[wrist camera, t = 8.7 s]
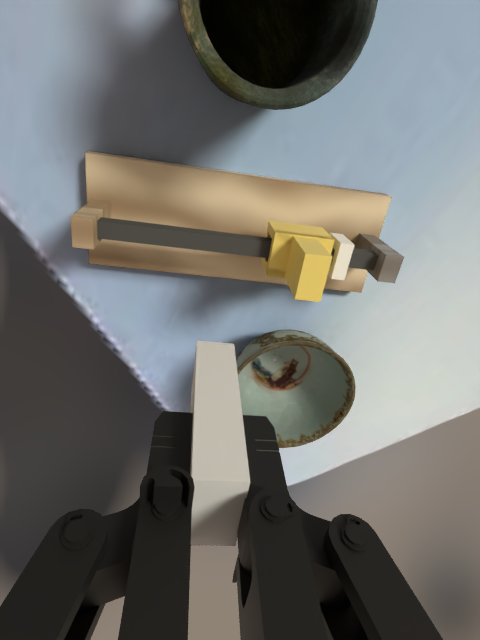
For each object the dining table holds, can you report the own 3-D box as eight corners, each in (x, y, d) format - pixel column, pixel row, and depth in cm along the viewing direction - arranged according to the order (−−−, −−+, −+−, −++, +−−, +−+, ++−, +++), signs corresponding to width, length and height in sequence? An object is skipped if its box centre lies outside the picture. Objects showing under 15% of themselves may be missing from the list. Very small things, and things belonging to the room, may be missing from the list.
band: (330, 232, 35) (340, 243, 32) (342, 234, 35) (354, 245, 32) (321, 265, 36) (331, 278, 34) (333, 267, 37) (344, 280, 34)
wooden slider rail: (89, 151, 34) (60, 161, 27) (385, 194, 38) (425, 212, 31) (93, 258, 39) (68, 290, 32) (356, 286, 43) (386, 321, 36)
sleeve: (268, 220, 34) (285, 249, 27) (322, 227, 35) (352, 257, 28) (261, 261, 36) (275, 298, 29) (312, 266, 37) (338, 304, 30)
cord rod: (99, 216, 32) (95, 221, 31) (373, 250, 35) (379, 255, 34) (100, 233, 33) (96, 238, 31) (368, 265, 36) (374, 270, 35)
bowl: (301, 412, 51) (316, 460, 44) (205, 385, 48) (204, 432, 41) (354, 327, 45) (381, 367, 38) (248, 290, 42) (257, 325, 35)
